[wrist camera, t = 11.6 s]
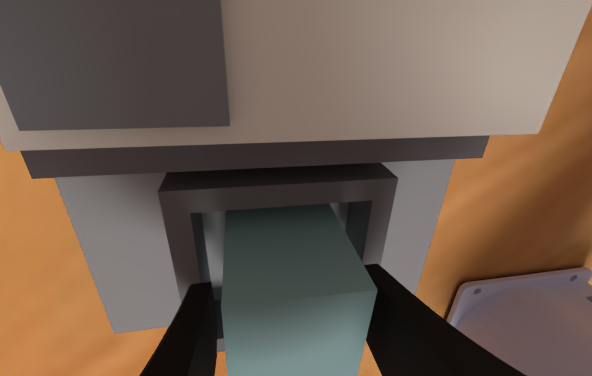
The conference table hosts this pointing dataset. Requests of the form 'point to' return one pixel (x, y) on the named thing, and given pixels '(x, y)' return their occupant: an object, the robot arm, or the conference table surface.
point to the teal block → (293, 294)
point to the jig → (240, 208)
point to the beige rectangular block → (277, 70)
